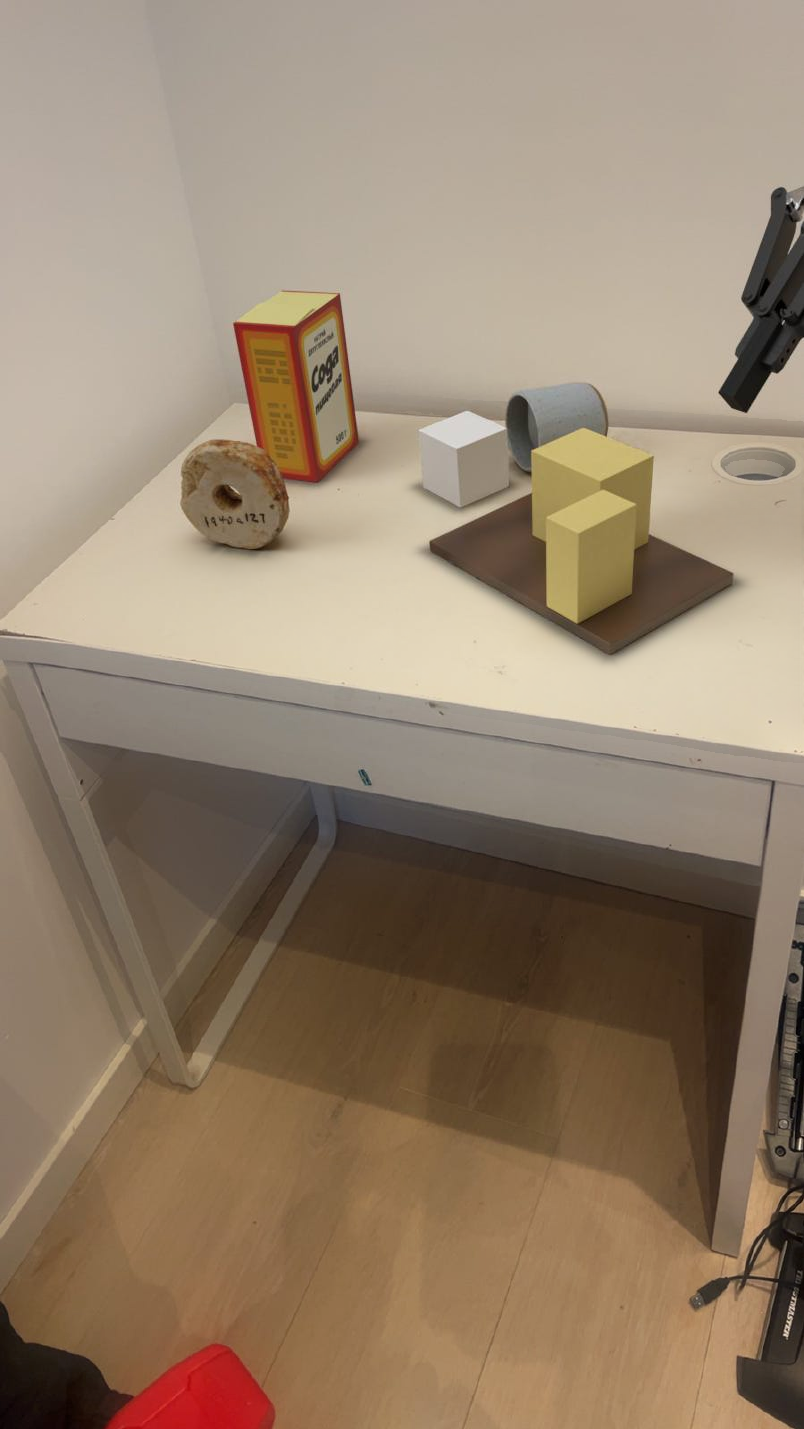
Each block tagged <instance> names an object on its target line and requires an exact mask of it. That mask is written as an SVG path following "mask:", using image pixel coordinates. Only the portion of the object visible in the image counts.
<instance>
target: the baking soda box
mask: <svg viewBox="0 0 804 1429" xmlns="http://www.w3.org/2000/svg"><path fill="white" fill-rule="evenodd" d="M232 326H233V330H234V336H235V341H236V346H237V351H238V356H239V361H240V367H241V372H242V377H243V383H244V387H245V392H246V398H247V403H248V408H249V413H250V418H251V424H252V427H253V434H254V439H255V443H256V446H257V447H259V448H261V449H263V450H264V451H265V452H267V453H268V455H269V456H270V458H271V459H272V460H273V461H274V462H275V463H276V466H277V469H278V470H280V471H281V474H282V476H283V479H287V480H294V481H303V482H310V483H319V482H320V481H321V480H322V479H323V478H324V477H325V476H326V475H327V474H328V473H330V471H331V470H332V469H334V468H335V466H336V465H338V463H340V461H342V460H343V459H344V458H345V457H346V456H347V455H348V454H349V453H350V452H351V451H352V450H353V449H354V448H356V446H357V445H358V444H359V443H360V441H359V440H360V439H359V431H358V425H357V424H358V423H357V417H356V409H355V399H354V393H353V384H352V377H351V369H350V362H349V354H348V345H347V338H346V329H345V322H344V315H343V307H342V300H341V293H340V292H321V291H319V292H318V291H303V290H302V291H300V290H284V289H283V290H281V291H279V292H278V293H277V294H275V295H274V296H272V297H270V298H269V299H267V300H266V301H264V302H260V303H258V304H257V305H256V306H254V307H253V308H252V309H250V310H249V311H248V312H246V313H244V315H243V316H241V317H240V318H238V319H237V320H235V321H234V322H233V323H232Z"/></svg>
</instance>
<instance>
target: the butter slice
mask: <svg viewBox="0 0 804 1429" xmlns="http://www.w3.org/2000/svg"><path fill="white" fill-rule="evenodd" d="M635 523H636V504H635V503H633V502H630V501H628V500H626V499H624V498H621V497H619V496H617V495H614V494H612V493H610V492H608V491H605V490H601V491H599V492H597V493H595V494H593V495H591V496H589V497H587V498H585V499H582V500H580V501H578V502H576V503H574V504H572V505H570V506H568V507H566V508H564V509H562V510H560V511H558V512H556V513H554V514H552V515H550V516H547V517H546V587H547V607H549V608H550V609H552V610H554V611H556V612H557V613H559V614H561V615H563V616H564V617H566V618H568V619H569V620H571V621H573V622H575V623H576V624H578V623H580V622H582V621H584V620H586V619H587V618H589V617H591V616H593V615H595V614H596V613H598V612H600V611H602V610H604V609H605V608H607V607H609V606H611V605H613V604H614V603H616V602H618V601H620V600H622V599H624V598H625V597H627V596H629V595H631V594H632V578H633V560H634V542H635Z"/></svg>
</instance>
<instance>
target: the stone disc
mask: <svg viewBox="0 0 804 1429" xmlns="http://www.w3.org/2000/svg"><path fill="white" fill-rule="evenodd" d="M180 468H181V469H180V476H181V478H182V479H181V483H180V484H181V487H180V490H181V492H180V493H181V498H180V502H179V504H180V508H181V510H182V512H183V514H184V515H185V517H186V518H187V520H188V521H189V522H190V524H191V525H192V526H193V527H194V528H195V529H196V530H197V531H198V533H200V534H202V535H203V536H204V537H205V538H207V539H209V540H210V541H213V542H215V543H219V544H224V545H228V546H230V547H233V548H237V549H241V548H243V549H247V550H256V549H260V548H262V547H265V546H266V545H269V544H271V542H273V541H274V540H275V539H276V538H277V537H278V536H279V535H280V534H281V532H282V531H283V529H284V527H285V525H286V524H287V522H288V519H289V517H290V511H291V510H290V501H289V499H290V496H289V495H288V490H287V488H286V482H285V480H284V478H283V476H282V474H281V471H280V470H278V469H277V466H276V463H275V462H274V461H273V460H272V459H271V458H270V456H269V455H268V453H267V452H265V451H264V450H263V449H261V448H259V447H257V445H255V444H253V443H249V442H243V441H240V440H232V439H221V438H217V439H216V438H215V439H209V440H207V441H204V442H202V443H200V444H199V445H197V446H196V447H195V448H193V449H192V450H191V451H190V452H189V453H188V454H187V455H186V457H185V458H184V460H183V462H182V465H181V467H180ZM236 491H237V492H236Z"/></svg>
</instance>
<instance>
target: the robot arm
mask: <svg viewBox="0 0 804 1429" xmlns="http://www.w3.org/2000/svg"><path fill="white" fill-rule="evenodd" d="M803 214H804V185H803V186H800V187H798V188H796V189H793V190H791V191H787V189H786V188H785V187H784V186H780V187H779V186H778V187H777V188H775V189H774V190H773V191H772V192H771V194H770V216H769V219H768V222H767V224H766V227H765V230H764V233H763V236H762V238H761V241H760V244H759V246H758V250H757V252H756V256H755V257H754V261H753V262H752V266H751V270H750V271H749V274H748V277H747V280H746V282H745V286H744V288H743V291H742V293H741V297H740V299H741V302H742V303H743V305H744V306H745V307H746V310H747V311H748V312H749V313H750V315H751V316H752V317H753V318H752V320H751V322H750V324H749V326H748V328H747V329H746V330H745V332H744V334H743V336H742V337H741V339H740V340H739V343H737V346H736V347H735V350H734V356H735V357H736V358H737V360H736V362H735V363H734V365H733V367H732V368H731V370H730V371H729V373H728V375H727V376H726V377H725V378H726V379H725V380H724V382H723V384H722V385H721V386H720V387H719V390H718V392H717V393H718V394H719V396H720V397H721V398H722V399H723V400H724V401H725V402H726V404H727V405H728V406H729V408H731V409H733V410H735V411H739V412H742V413H744V414H747V413H748V412H749V410H750V409H751V407H752V406H753V404H754V402H755V401H756V399H757V397H758V396H759V394H760V392H761V391H762V389H763V387H764V386H765V384H766V382H767V381H768V379H769V377H770V376H771V374H772V373H774V374H776V375H778V374H779V373H780V372H781V371H782V370H783V369H784V368H785V367H786V365H787V363H788V362H789V360H790V357H791V356H792V355H793V354H794V351H795V350H796V348H797V347H798V345H799V344H800V342H801V340H802V339H804V220H803V219H804V218H803V217H804V216H803ZM800 222H802V223H801V224H800V230H799V231H800V232H799V235H798V237H797V239H796V241H795V242H794V244H793V245H792V243H793V241H794V238H795V234H796V231H797V223H800ZM791 246H792V247H791Z"/></svg>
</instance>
